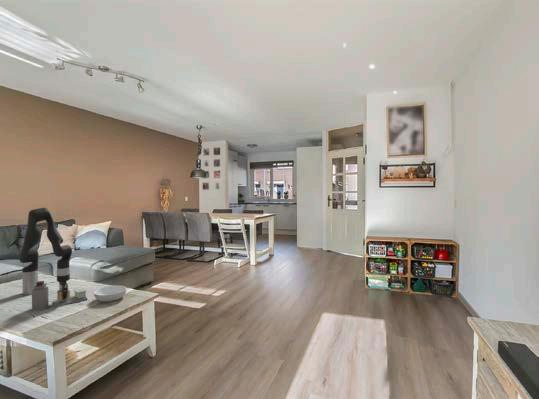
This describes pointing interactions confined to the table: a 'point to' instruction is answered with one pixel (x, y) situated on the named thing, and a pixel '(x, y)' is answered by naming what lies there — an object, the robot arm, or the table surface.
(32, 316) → the table surface
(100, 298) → the serving bowl
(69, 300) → the board
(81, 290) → the block
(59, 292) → the sleeve
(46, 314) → the table surface
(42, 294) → the perfume bottle
